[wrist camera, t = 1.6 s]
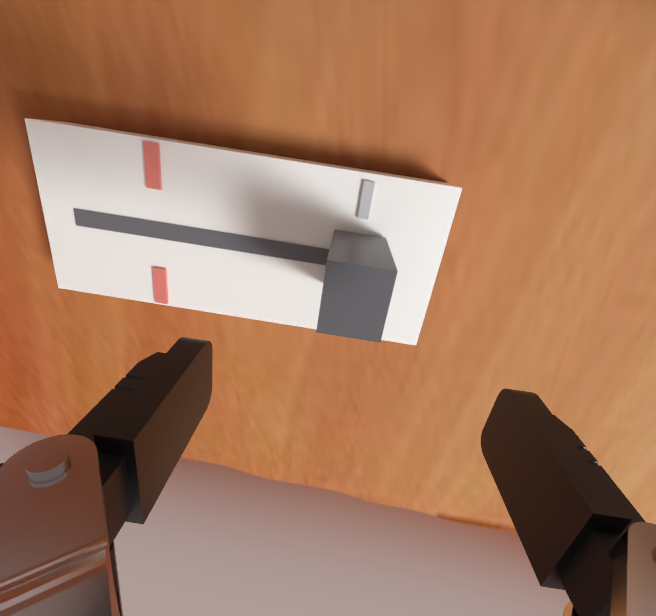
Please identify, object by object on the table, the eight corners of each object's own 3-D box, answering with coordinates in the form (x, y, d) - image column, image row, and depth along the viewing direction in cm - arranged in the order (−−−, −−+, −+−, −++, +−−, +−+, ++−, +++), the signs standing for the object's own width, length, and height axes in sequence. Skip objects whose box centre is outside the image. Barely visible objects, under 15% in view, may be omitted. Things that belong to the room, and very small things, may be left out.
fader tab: (385, 237, 20) (397, 271, 15) (373, 293, 21) (380, 342, 16) (334, 229, 20) (327, 259, 15) (325, 285, 21) (316, 332, 16)
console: (448, 182, 21) (463, 188, 19) (409, 324, 26) (416, 346, 23) (65, 121, 22) (20, 117, 19) (89, 273, 26) (56, 288, 23)
